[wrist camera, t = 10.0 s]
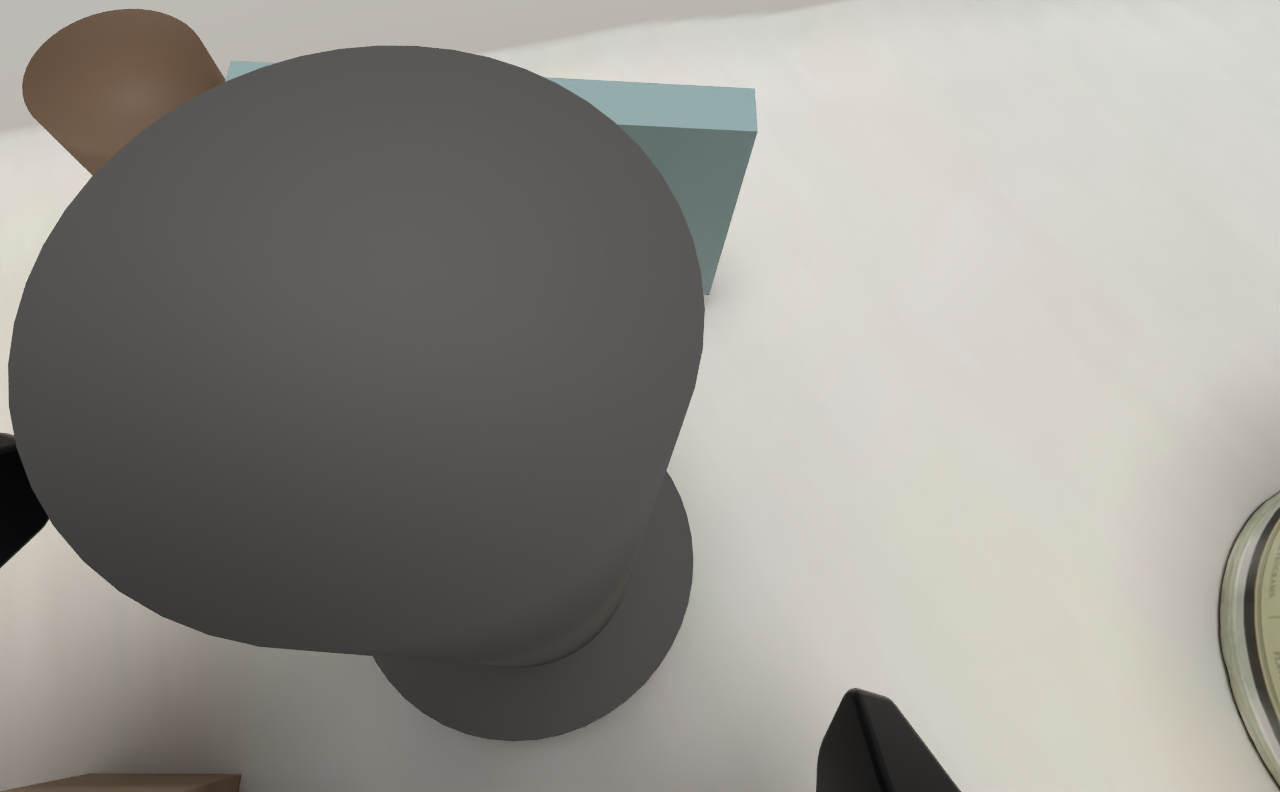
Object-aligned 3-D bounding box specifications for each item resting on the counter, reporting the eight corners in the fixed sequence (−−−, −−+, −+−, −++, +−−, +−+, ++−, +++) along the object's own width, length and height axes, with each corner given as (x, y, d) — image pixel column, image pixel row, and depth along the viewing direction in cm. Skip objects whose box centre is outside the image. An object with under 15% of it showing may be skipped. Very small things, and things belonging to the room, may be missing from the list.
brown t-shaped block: (232, 224, 19) (53, 4, 13) (345, 229, 19) (223, 13, 13) (-30, 1227, 12) (-735, 1856, 6) (154, 1224, 12) (-332, 1833, 6)
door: (335, 280, 18) (218, 104, 12) (348, 214, 19) (243, 19, 13) (708, 295, 18) (757, 131, 13) (706, 229, 19) (752, 48, 14)
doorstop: (467, 790, 15) (-133, 1332, 3) (353, 520, 17) (-306, 105, 4) (728, 631, 16) (1123, 508, 4) (595, 399, 18) (594, -161, 6)
